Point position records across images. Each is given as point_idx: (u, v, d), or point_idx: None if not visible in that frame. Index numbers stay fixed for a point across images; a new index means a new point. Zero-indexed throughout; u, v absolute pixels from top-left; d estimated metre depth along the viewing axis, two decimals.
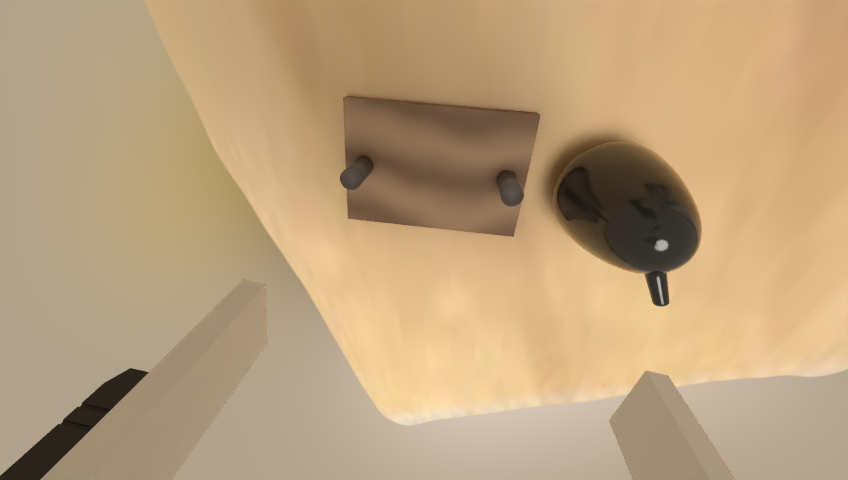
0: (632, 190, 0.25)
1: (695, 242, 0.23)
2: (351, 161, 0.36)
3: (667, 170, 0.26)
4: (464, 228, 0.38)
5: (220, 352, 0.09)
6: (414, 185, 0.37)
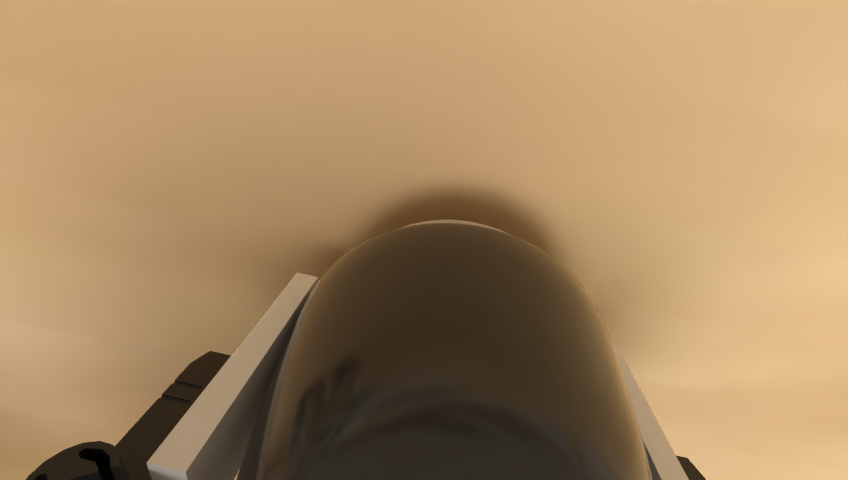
0: None
1: None
2: None
3: None
4: None
5: (286, 337, 0.10)
6: None
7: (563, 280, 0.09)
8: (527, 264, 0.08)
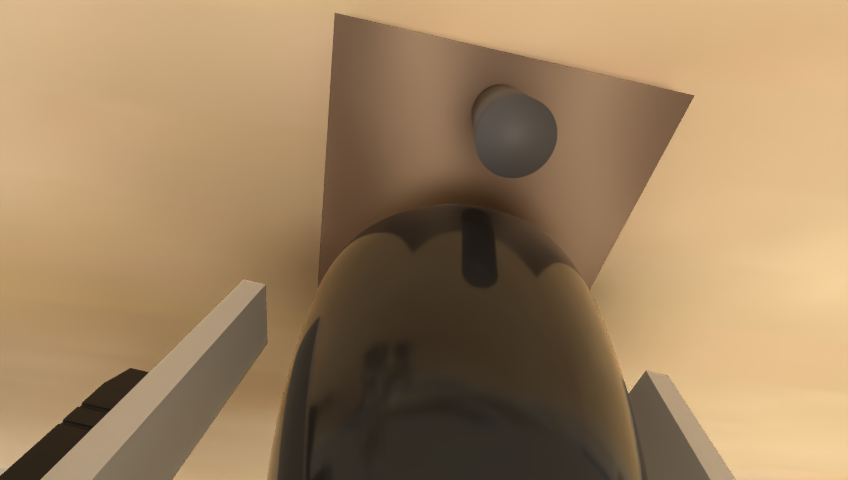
0: None
1: None
2: None
3: (279, 425, 0.08)
4: (612, 230, 0.15)
5: (220, 352, 0.09)
6: None
7: (553, 251, 0.10)
8: (522, 236, 0.10)
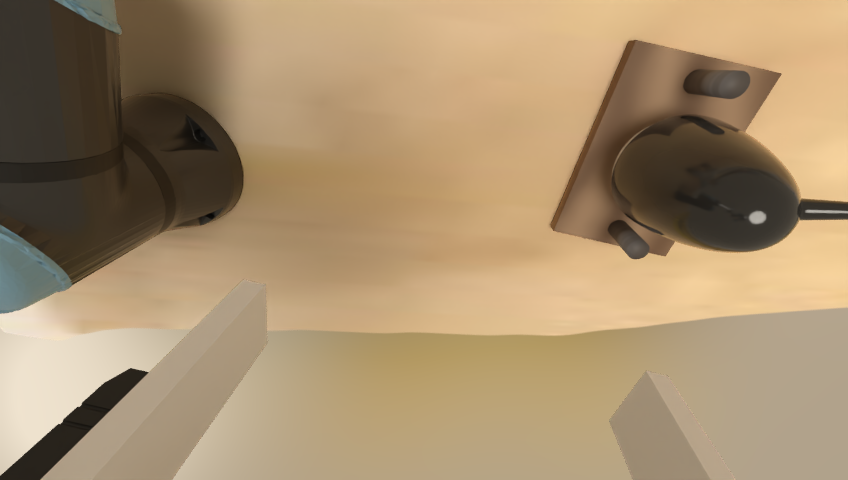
0: (673, 220, 0.25)
1: (768, 199, 0.20)
2: (609, 238, 0.38)
3: (664, 168, 0.25)
4: None
5: (220, 352, 0.09)
6: None
7: None
8: (724, 122, 0.27)
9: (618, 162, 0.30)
